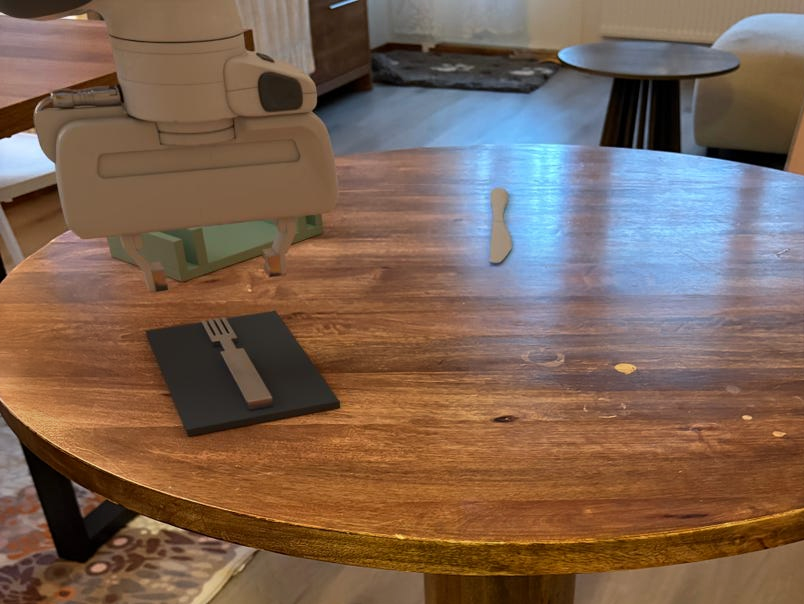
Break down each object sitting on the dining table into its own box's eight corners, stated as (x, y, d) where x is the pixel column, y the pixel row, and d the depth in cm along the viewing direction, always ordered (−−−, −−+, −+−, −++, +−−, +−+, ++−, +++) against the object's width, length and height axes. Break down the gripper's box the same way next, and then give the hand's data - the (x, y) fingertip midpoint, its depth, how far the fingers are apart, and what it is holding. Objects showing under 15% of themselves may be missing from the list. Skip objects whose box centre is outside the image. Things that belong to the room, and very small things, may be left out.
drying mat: (146, 336, 83) (144, 330, 82) (276, 316, 86) (275, 310, 86) (188, 436, 69) (186, 429, 69) (340, 407, 73) (339, 400, 72)
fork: (275, 406, 71) (273, 396, 71) (247, 411, 71) (245, 402, 70) (226, 322, 84) (224, 313, 83) (202, 325, 83) (200, 317, 83)
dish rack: (111, 256, 98) (100, 212, 95) (252, 212, 110) (247, 172, 107) (182, 282, 93) (173, 236, 90) (323, 233, 105) (319, 191, 102)
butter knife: (514, 187, 117) (491, 185, 117) (511, 263, 97) (483, 261, 97) (514, 192, 117) (491, 190, 117) (510, 269, 97) (482, 266, 97)
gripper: (28, 100, 58) (85, 314, 67) (337, 81, 65) (351, 279, 74) (22, 81, 62) (76, 284, 72) (312, 65, 69) (328, 253, 78)
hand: (218, 281), depth 73 cm, fingers open, 8 cm apart
